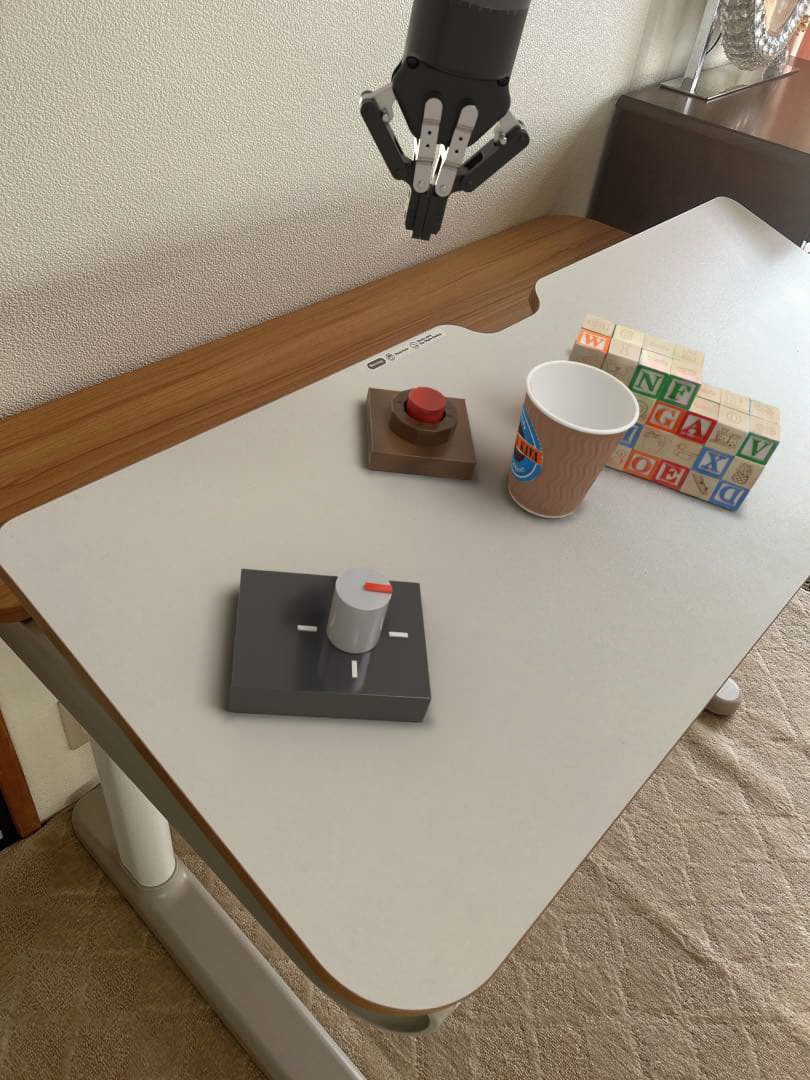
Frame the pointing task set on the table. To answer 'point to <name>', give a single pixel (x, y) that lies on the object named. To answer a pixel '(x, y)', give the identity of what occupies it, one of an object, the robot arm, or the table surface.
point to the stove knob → (358, 609)
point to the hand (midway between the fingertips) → (418, 234)
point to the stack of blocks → (681, 416)
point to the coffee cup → (566, 435)
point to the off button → (426, 405)
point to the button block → (418, 437)
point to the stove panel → (324, 653)
